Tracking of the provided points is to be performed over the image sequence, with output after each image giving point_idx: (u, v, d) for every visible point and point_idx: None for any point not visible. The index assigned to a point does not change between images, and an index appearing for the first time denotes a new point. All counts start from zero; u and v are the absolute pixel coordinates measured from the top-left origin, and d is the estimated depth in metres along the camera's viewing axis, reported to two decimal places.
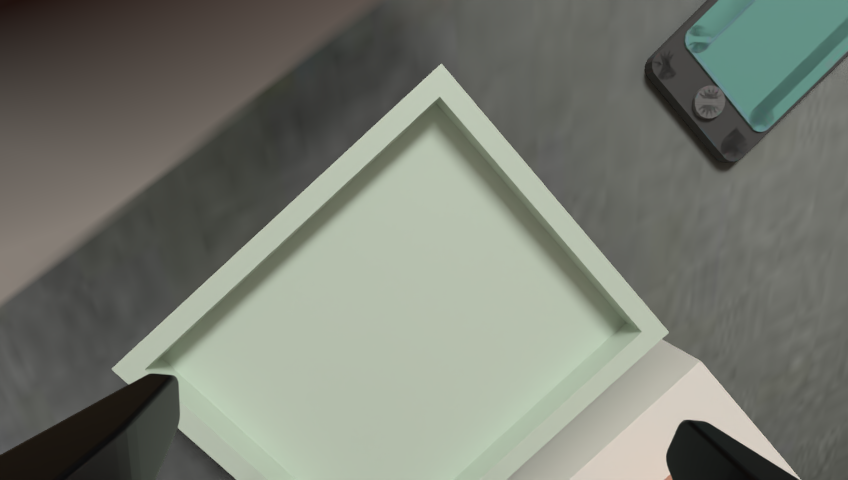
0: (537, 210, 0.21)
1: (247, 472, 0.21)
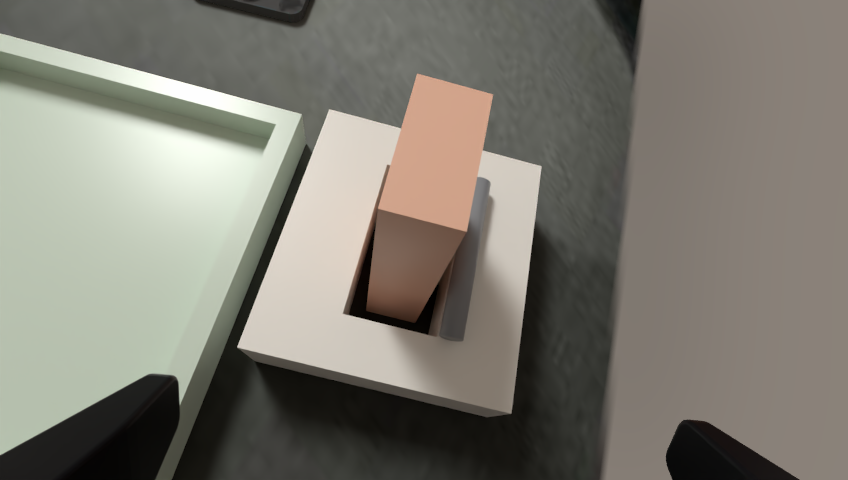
0: (115, 81, 0.22)
1: None
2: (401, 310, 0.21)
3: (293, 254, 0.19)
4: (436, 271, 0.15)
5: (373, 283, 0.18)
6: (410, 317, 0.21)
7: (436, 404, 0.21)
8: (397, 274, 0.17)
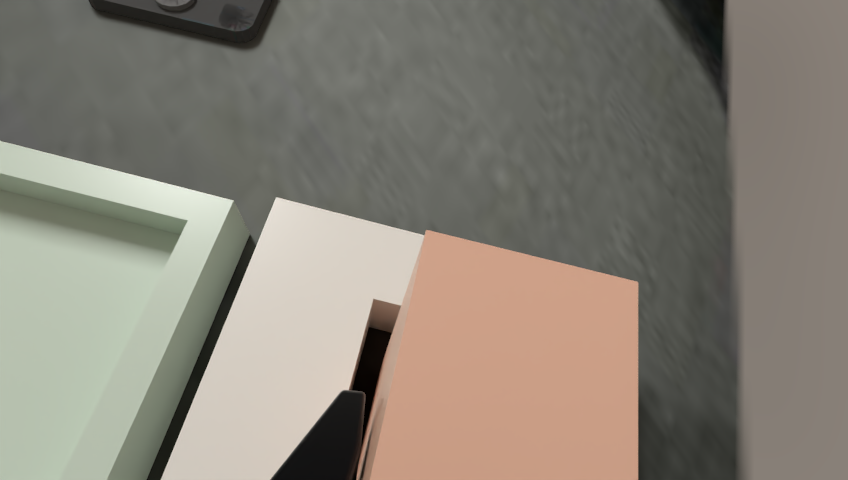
0: None
1: None
2: None
3: None
4: None
5: None
6: None
7: None
8: None
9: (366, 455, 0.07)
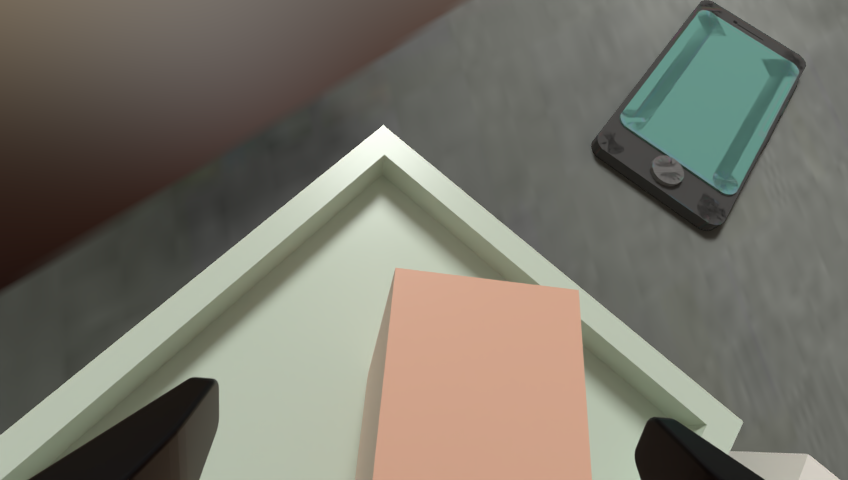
0: (520, 269, 0.17)
1: None
2: None
3: None
4: None
5: None
6: None
7: None
8: None
9: (365, 463, 0.07)
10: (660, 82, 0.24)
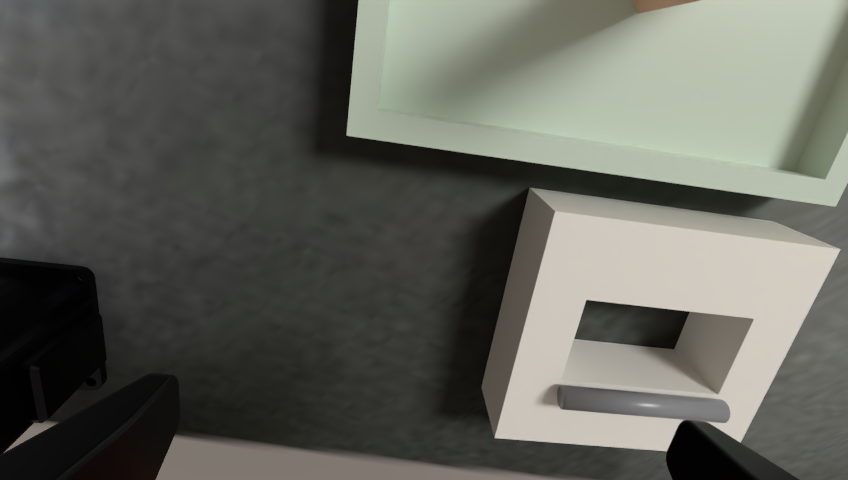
0: None
1: None
2: None
3: (652, 244, 0.18)
4: None
5: None
6: (648, 1, 0.16)
7: (491, 350, 0.23)
8: None
9: None
10: None
